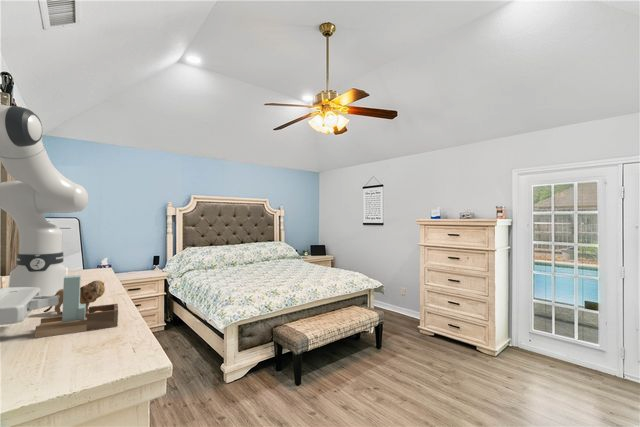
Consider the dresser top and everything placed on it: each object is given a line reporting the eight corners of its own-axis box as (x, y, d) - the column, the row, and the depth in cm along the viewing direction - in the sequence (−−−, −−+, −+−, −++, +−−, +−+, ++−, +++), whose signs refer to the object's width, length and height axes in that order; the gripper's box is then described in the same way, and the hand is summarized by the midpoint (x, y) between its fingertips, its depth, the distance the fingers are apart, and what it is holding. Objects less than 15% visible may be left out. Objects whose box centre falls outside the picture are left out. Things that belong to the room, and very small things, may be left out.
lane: (40, 328, 74) (41, 318, 74) (88, 322, 79) (88, 312, 79) (35, 338, 69) (35, 326, 69) (86, 330, 74) (87, 320, 74)
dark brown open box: (88, 322, 80) (89, 306, 80) (117, 318, 83) (117, 303, 83) (86, 330, 74) (87, 314, 74) (117, 326, 77) (118, 310, 77)
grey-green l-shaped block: (64, 320, 76) (65, 275, 76) (85, 317, 78) (87, 274, 78) (61, 325, 72) (63, 278, 72) (84, 322, 74) (85, 277, 75)
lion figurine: (107, 308, 92) (108, 278, 92) (99, 314, 87) (101, 282, 87) (48, 311, 88) (50, 279, 88) (37, 317, 83) (38, 283, 83)
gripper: (-45, 305, 57) (53, 296, 65) (-10, 284, 74) (64, 279, 82) (-46, 339, 57) (52, 326, 65) (-11, 311, 74) (64, 303, 82)
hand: (59, 300), depth 74 cm, fingers closed
